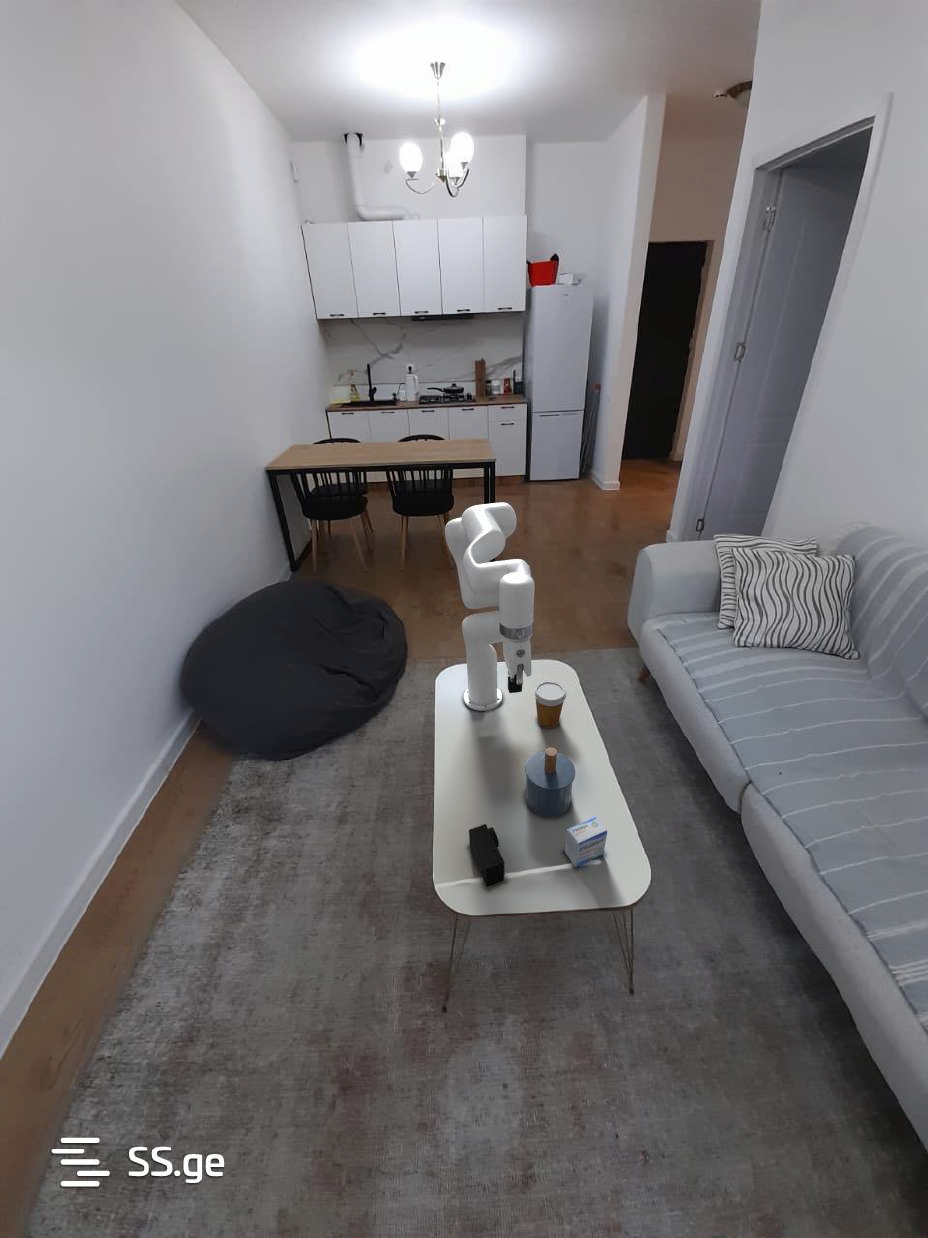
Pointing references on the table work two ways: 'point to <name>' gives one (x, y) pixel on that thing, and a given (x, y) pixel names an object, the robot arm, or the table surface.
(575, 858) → the medicine box
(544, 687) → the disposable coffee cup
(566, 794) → the cup
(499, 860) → the digital camera
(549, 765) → the lid
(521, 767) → the table surface
